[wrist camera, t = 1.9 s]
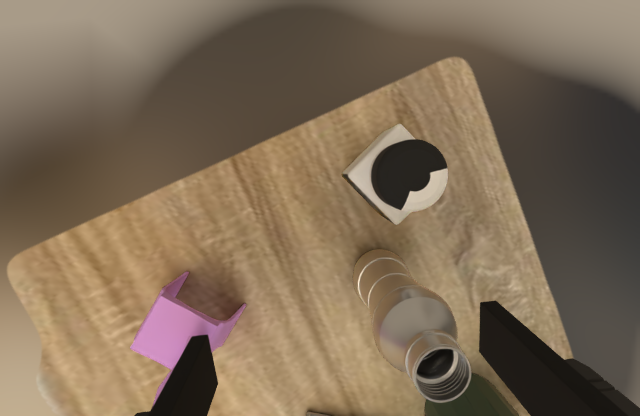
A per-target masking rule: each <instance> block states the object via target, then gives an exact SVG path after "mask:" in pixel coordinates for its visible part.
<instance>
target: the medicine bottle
mask: <svg viewBox="0 0 640 416" xmlns="http://www.w3.org/2000/svg"><path fill="white" fill-rule="evenodd" d="M342 177H343V178H344V179H345V180H346V181H347V182H348V183H349V184H350V185H351V186H352V187H353V188H354V189H355V190H356V191H357V192H358V193H359V194H360V195H361V196H362V197H363V198H364V199H365V200H366V201H367V202H368V203H369V204H370V205H371V206H372V207H373V208H374V209H375V210H376V211H377V212H378V213H379V214H380V215H381V216H383V217H384V218H386V219H387V220H389V221H391V222H392V223H394V224H395V225H398V224H399V223H400V222H401V221H402V220H403V219H405V218H406V217H407V216H408V215H409V214H410V213H411V212H416V211H421V210H424V209H426V208H428V207H430V206H431V205H433V204H434V203H435V202H436V201H437V200H438V199H439V198H440V197H441V195H442V194H443V192H444V190H445V188H446V185H447V180H448V168H447V164H446V161H445V159H444V157H443V155H442V154H441V152H440V151H439V150H438V149H437V148H436V147H435V146H433V145H432V144H430V143H428V142H426V141H423V140H417V139H415V138H414V137H413V136H412V135H411V134H410V133H409V132H408V131H407V130H406V129H405V127H404V126H403V125H401V124H397V125H395V126H393V127H392V128H390V129H388V130H386V131H384V132H382V133H381V134H380V135H379V136H378V137H377V138H376V139H375V140H374V141H373V142H372V143H371V144H370V145H369V146H368V147H367V148H366V149H365V150H364V151H363V152H362V153H361V154H360V155H359V156H358V157H357V158H356V159H355V160H354V161H353V162H352V163H351V164H350V165H349V166H348V167H347V168H346V169H345V170H344V171H343V172H342Z"/></svg>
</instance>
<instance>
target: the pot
mask: <svg viewBox="0 0 640 416" xmlns="http://www.w3.org/2000/svg"><path fill="white" fill-rule="evenodd" d="M425 416H520V415H519V414H518V413H517V412H516V411H515V410H514V408H513V407H512V406H511V405H510V404H509V403H508V401H507V400H506V399H505V398H504V397H503V395H502V394H501V393H500V392H499V391H498V390H497V388H496V387H495V386H494V385H492V384H491V383H490V382H489V381H488V380H487V379H485V378H483V377H481V376H479V375H476V374H472V373H471V379H470V383H469V385H468V387H467V388H466V390H465V391H464V392H463V393H462V394H461V395H460V396H459V397H458V398H456V399H454V400H452V401H449V402H443V403H438V402H433V401H430V400H428V399H427V400H426V404H425Z"/></svg>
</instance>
